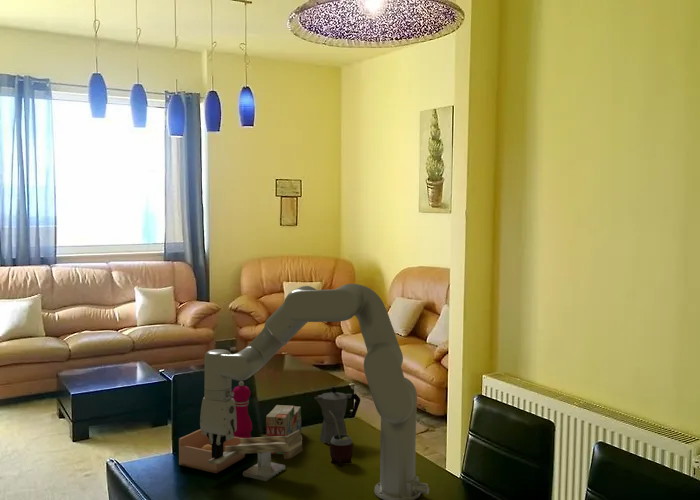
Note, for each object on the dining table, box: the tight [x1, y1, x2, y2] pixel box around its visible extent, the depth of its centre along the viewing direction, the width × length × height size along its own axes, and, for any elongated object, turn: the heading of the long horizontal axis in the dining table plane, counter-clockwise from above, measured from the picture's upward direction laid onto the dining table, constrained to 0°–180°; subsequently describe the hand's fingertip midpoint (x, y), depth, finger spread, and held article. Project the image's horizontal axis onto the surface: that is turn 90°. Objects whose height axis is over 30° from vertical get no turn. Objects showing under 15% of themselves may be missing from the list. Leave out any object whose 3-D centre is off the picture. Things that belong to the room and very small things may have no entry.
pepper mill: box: [231, 380, 253, 438], centre depth 222 cm, size 7×7×20 cm
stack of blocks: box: [265, 404, 302, 455], centre depth 220 cm, size 21×6×12 cm, turn 170°
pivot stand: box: [242, 452, 286, 482], centre depth 195 cm, size 8×10×6 cm
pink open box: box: [178, 428, 246, 474], centre depth 204 cm, size 14×14×8 cm
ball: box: [202, 444, 212, 451], centre depth 205 cm, size 4×4×4 cm
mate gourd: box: [329, 410, 354, 468], centre depth 203 cm, size 8×8×15 cm
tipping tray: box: [208, 430, 304, 464], centre depth 191 cm, size 22×16×6 cm
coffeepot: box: [313, 386, 361, 445], centre depth 222 cm, size 15×9×18 cm, turn 95°
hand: (217, 456), depth 191 cm, fingers closed
